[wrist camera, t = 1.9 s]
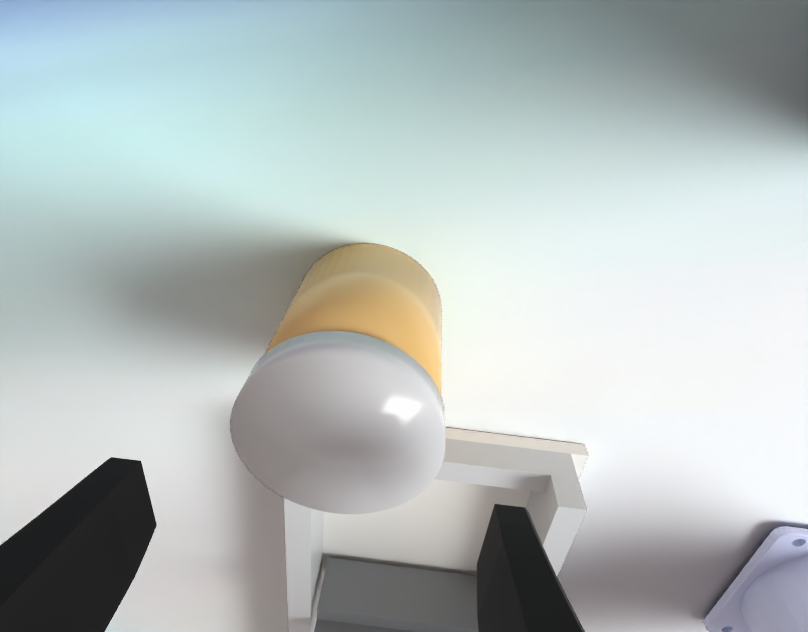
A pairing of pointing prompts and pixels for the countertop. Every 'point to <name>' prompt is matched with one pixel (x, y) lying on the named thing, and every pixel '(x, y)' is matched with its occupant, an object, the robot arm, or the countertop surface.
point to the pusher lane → (442, 515)
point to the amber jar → (349, 387)
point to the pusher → (394, 599)
